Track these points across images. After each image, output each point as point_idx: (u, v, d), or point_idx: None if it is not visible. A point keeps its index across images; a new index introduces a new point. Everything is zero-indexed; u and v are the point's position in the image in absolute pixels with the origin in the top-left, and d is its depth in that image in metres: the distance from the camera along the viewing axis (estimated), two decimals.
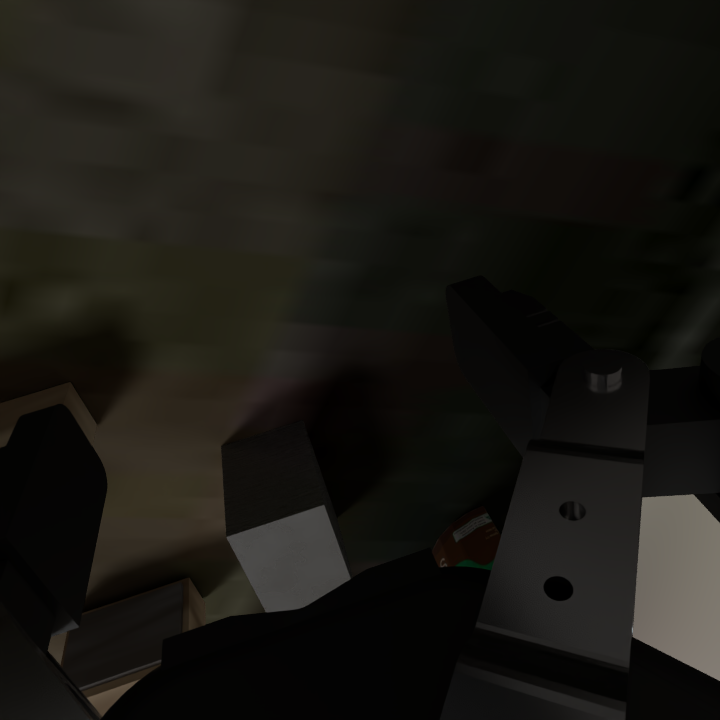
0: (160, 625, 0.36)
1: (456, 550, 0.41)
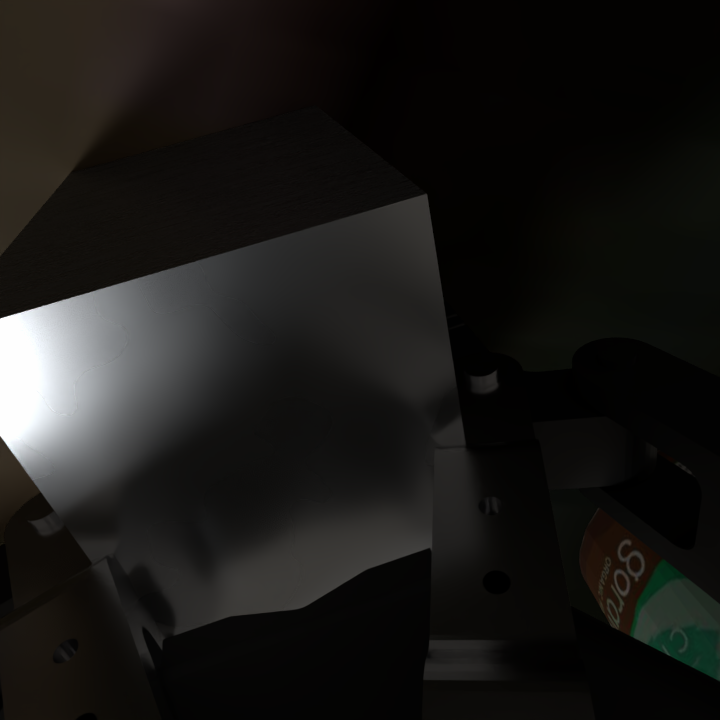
0: None
1: None
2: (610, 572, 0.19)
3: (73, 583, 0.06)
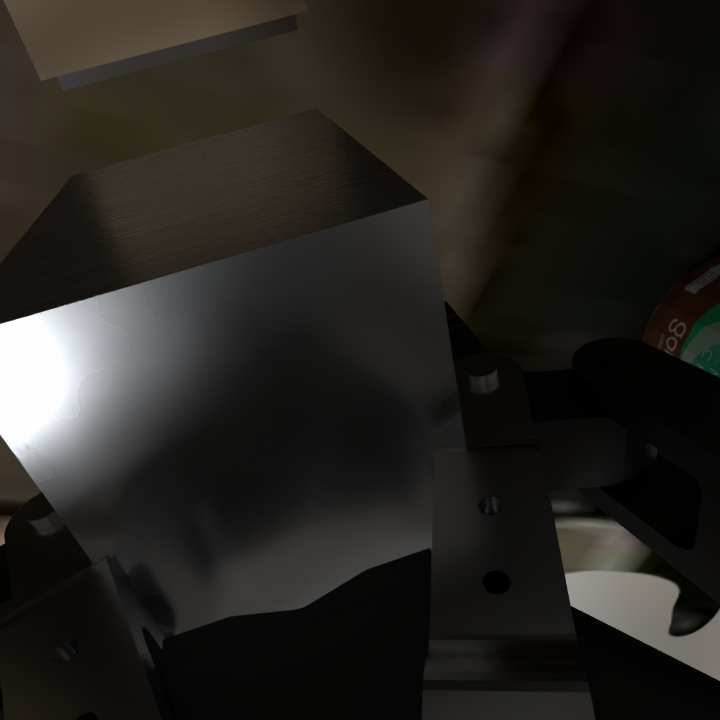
0: None
1: (698, 300, 0.32)
2: (664, 342, 0.33)
3: (73, 583, 0.06)
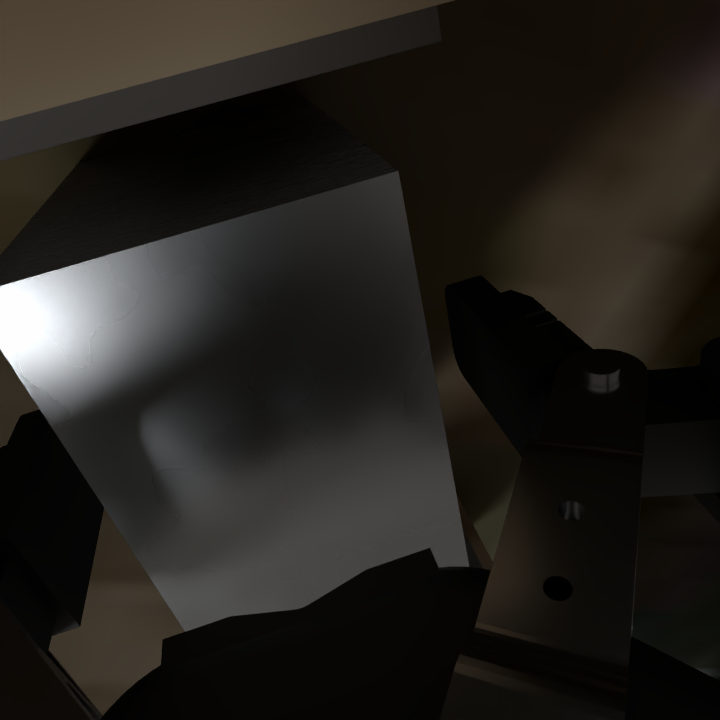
0: None
1: None
2: None
3: None
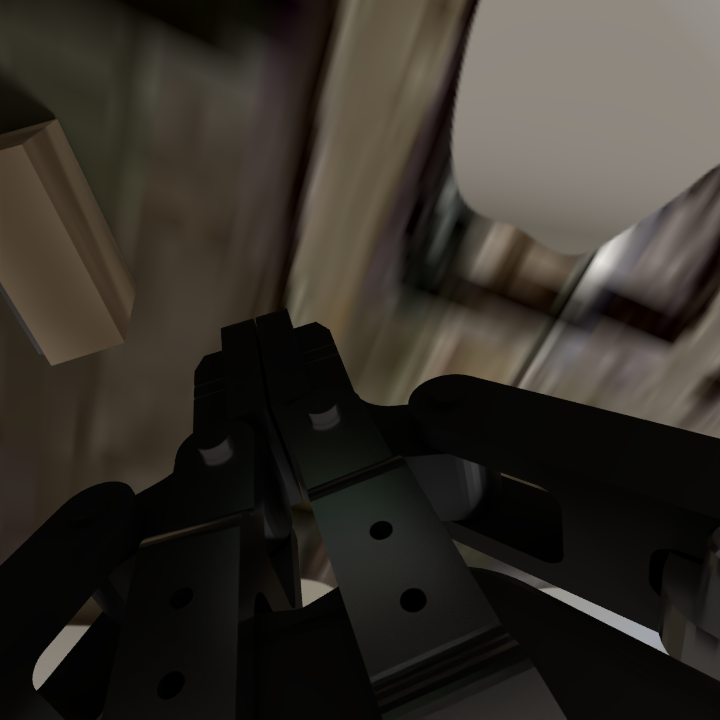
0: None
1: None
2: None
3: (207, 531, 0.07)
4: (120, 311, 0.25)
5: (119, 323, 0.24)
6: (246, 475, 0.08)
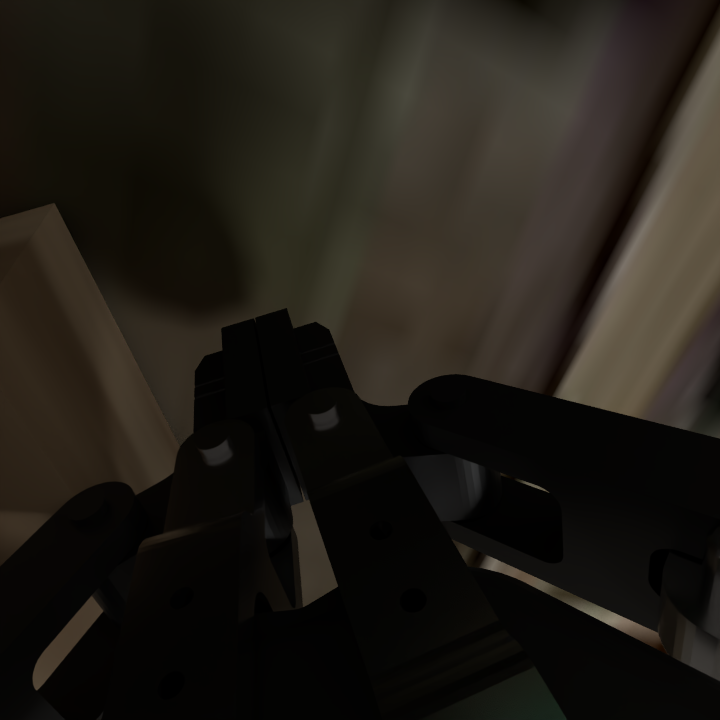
0: None
1: None
2: None
3: (207, 531, 0.07)
4: None
5: None
6: (246, 475, 0.08)
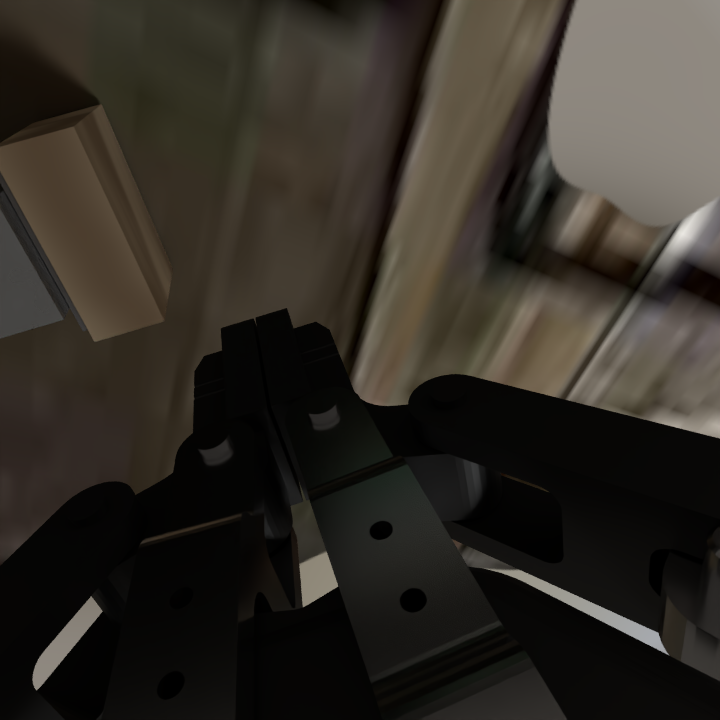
0: None
1: None
2: None
3: (207, 531, 0.07)
4: (160, 291, 0.26)
5: (159, 302, 0.25)
6: (246, 475, 0.08)
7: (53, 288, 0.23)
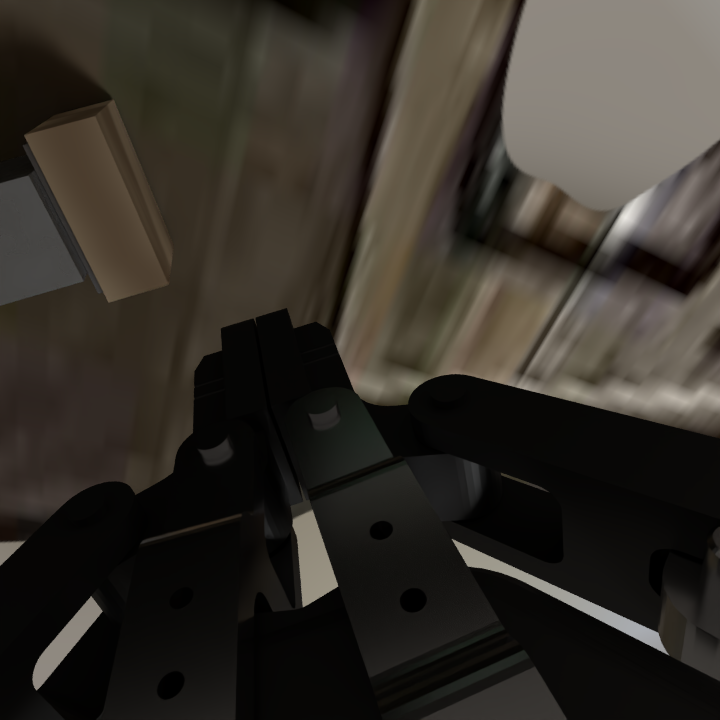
0: None
1: None
2: None
3: (207, 531, 0.07)
4: (164, 260, 0.30)
5: (164, 269, 0.29)
6: (246, 475, 0.08)
7: (74, 254, 0.27)
